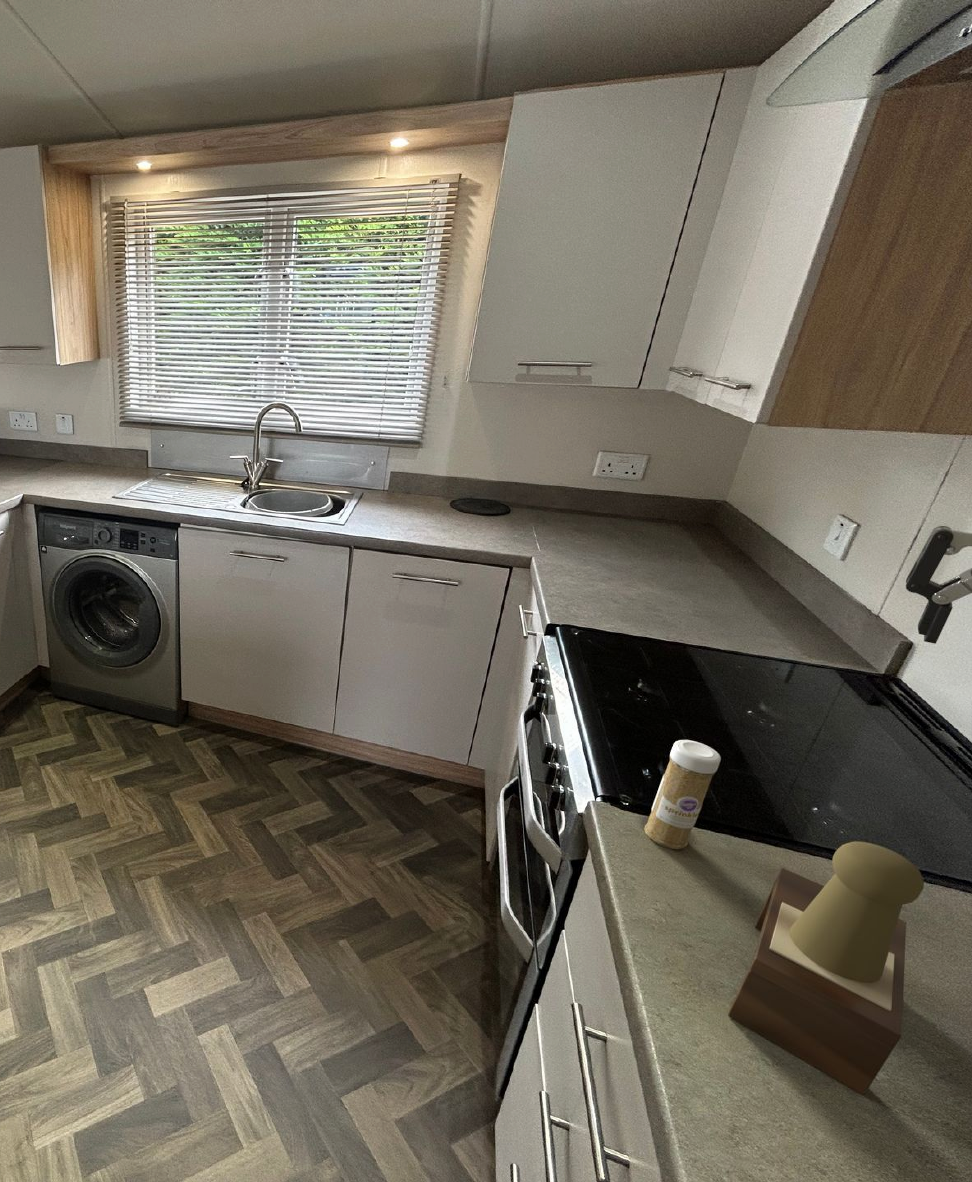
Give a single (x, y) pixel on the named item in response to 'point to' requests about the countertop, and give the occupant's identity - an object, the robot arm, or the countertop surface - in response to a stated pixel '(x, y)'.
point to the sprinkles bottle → (681, 793)
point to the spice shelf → (819, 995)
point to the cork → (857, 911)
